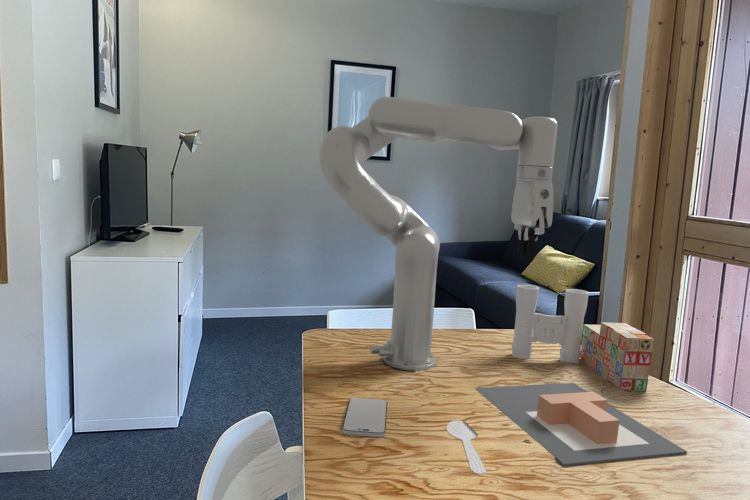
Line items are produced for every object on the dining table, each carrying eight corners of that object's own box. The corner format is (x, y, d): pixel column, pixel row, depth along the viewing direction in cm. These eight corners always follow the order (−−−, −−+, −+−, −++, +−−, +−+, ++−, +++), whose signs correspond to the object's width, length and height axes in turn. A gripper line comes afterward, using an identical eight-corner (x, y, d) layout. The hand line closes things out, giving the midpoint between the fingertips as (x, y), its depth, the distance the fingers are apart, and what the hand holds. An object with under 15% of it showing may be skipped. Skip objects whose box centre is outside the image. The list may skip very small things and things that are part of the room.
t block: (576, 446, 92) (579, 423, 92) (536, 415, 103) (538, 395, 103) (636, 440, 96) (638, 418, 95) (590, 411, 107) (593, 391, 106)
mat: (563, 466, 86) (563, 463, 86) (474, 389, 115) (474, 388, 115) (686, 453, 93) (687, 451, 93) (572, 384, 122) (573, 382, 122)
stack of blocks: (579, 359, 141) (584, 312, 140) (602, 360, 142) (608, 313, 140) (619, 391, 120) (626, 336, 119) (647, 392, 121) (654, 337, 119)
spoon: (462, 475, 82) (462, 472, 82) (442, 421, 100) (443, 419, 100) (497, 476, 82) (498, 473, 82) (472, 423, 100) (472, 420, 100)
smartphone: (387, 400, 106) (385, 433, 92) (387, 405, 107) (384, 440, 92) (350, 397, 107) (341, 429, 92) (349, 402, 107) (340, 436, 92)
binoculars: (510, 358, 138) (517, 287, 136) (509, 351, 144) (516, 283, 141) (582, 366, 135) (590, 294, 133) (578, 359, 141) (586, 290, 138)
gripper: (569, 176, 115) (559, 264, 117) (531, 175, 129) (523, 253, 131) (537, 174, 113) (528, 263, 115) (502, 173, 127) (494, 252, 129)
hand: (525, 257), depth 123 cm, fingers closed
